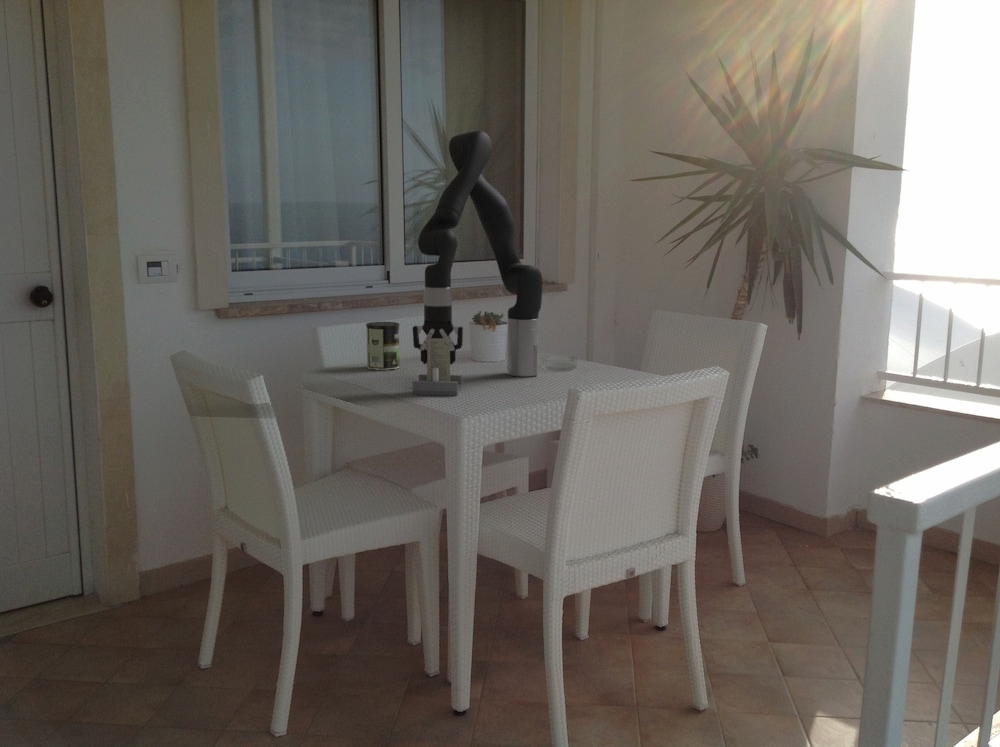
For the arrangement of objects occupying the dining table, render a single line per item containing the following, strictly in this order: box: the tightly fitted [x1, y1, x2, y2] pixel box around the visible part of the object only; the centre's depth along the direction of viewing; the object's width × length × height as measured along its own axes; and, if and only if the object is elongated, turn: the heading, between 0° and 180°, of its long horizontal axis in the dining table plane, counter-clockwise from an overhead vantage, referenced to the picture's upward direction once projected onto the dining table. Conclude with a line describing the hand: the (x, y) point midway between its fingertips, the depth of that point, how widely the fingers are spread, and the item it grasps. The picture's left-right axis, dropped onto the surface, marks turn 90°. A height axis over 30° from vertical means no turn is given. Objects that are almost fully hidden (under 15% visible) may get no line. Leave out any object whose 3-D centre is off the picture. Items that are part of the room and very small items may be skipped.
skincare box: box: [426, 338, 451, 381], centre depth 259 cm, size 6×4×12 cm
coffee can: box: [365, 321, 400, 371], centre depth 295 cm, size 10×10×14 cm
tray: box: [412, 368, 463, 397], centre depth 260 cm, size 12×12×7 cm
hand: (438, 363), depth 259 cm, fingers closed on skincare box, 7 cm apart
